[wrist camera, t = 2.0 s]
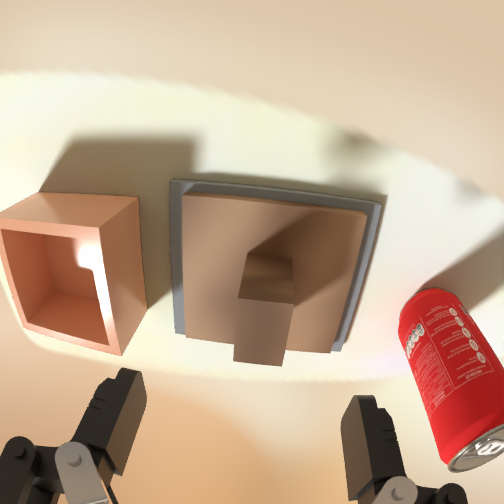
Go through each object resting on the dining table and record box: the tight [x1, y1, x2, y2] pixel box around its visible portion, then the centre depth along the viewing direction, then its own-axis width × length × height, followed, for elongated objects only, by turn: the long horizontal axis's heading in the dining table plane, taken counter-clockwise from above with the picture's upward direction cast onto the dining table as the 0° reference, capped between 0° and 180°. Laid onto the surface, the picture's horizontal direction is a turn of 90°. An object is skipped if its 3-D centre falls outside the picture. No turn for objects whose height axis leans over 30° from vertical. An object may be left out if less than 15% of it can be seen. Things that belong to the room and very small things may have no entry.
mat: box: [170, 179, 382, 352], centre depth 20 cm, size 12×11×1 cm
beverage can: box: [398, 288, 504, 473], centre depth 15 cm, size 5×5×12 cm
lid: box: [182, 191, 367, 367], centre depth 17 cm, size 10×10×5 cm
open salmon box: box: [0, 192, 147, 356], centre depth 18 cm, size 8×8×5 cm
